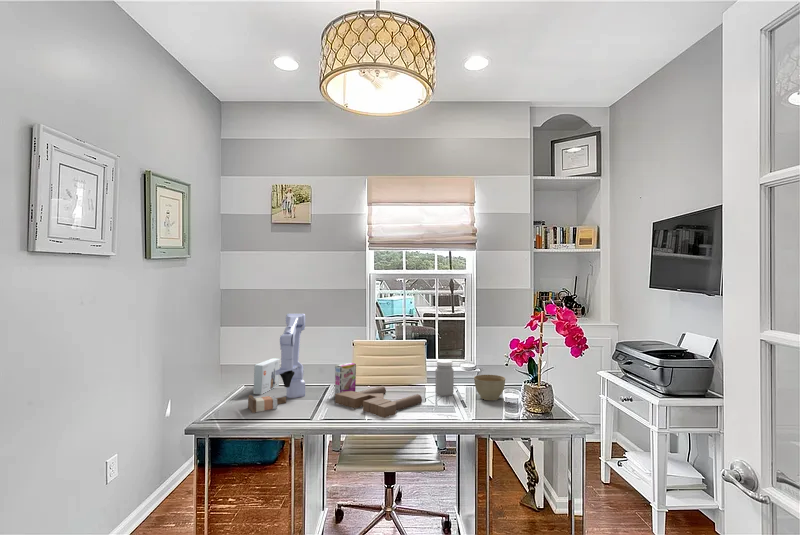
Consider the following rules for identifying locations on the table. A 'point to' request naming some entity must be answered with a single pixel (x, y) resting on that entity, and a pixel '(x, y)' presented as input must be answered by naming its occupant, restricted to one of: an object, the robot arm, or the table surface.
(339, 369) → the candy bar box
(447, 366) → the jar
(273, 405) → the grey rectangular block
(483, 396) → the planter bowl
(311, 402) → the table surface
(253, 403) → the wooden shelf
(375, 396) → the bookends
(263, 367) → the skincare box
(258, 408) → the cream book
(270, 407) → the salmon orange block
